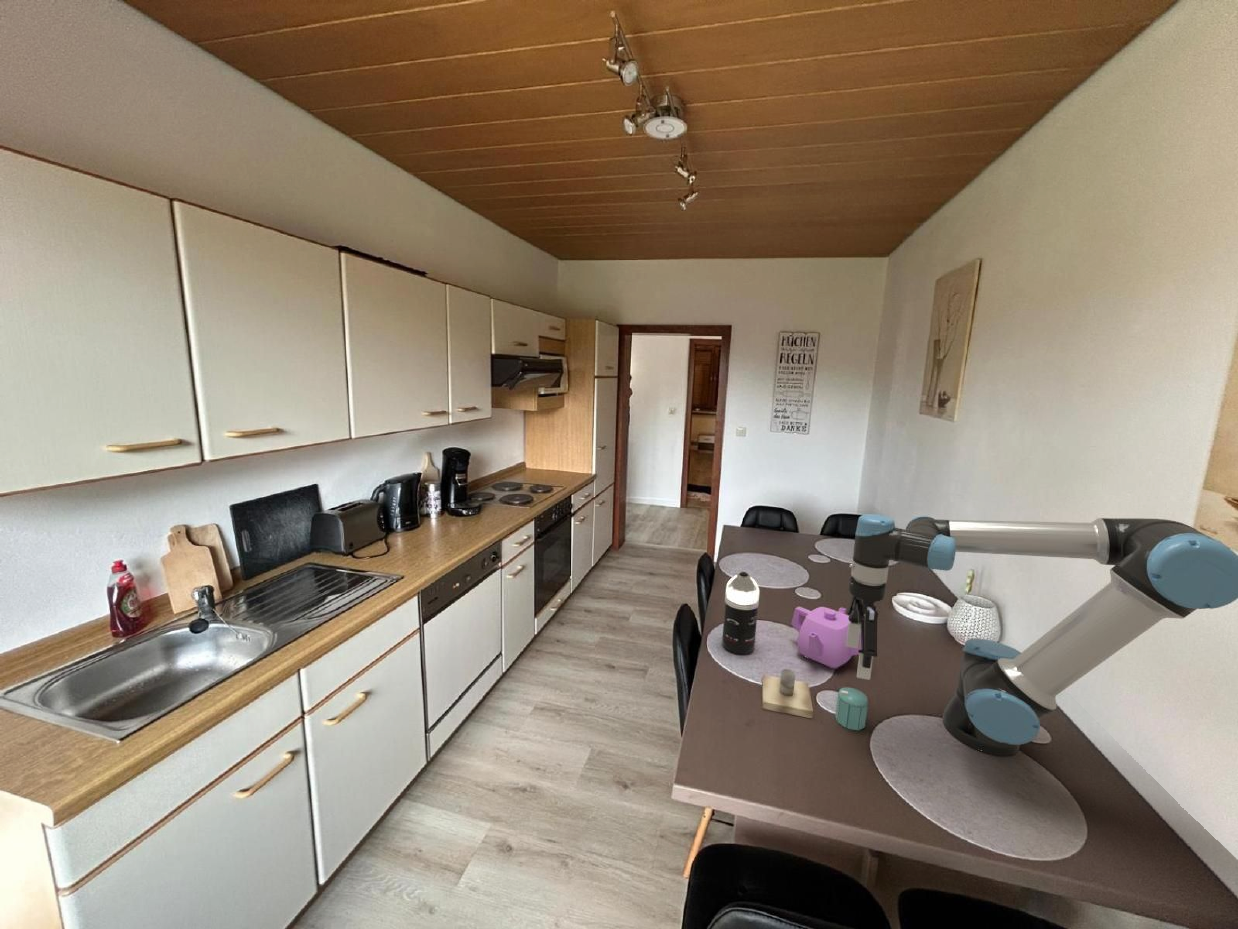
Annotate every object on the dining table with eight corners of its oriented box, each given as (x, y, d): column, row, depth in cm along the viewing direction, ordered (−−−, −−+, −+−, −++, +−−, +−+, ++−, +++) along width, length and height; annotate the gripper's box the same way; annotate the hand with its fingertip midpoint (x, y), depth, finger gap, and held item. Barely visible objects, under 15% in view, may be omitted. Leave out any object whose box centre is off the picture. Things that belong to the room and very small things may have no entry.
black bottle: (760, 647, 153) (767, 572, 149) (744, 660, 146) (751, 582, 141) (731, 634, 160) (737, 563, 156) (715, 646, 153) (720, 571, 148)
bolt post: (807, 689, 133) (810, 664, 132) (812, 718, 122) (815, 691, 120) (761, 681, 136) (764, 656, 135) (762, 708, 125) (765, 682, 123)
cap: (861, 715, 123) (864, 688, 122) (866, 732, 117) (870, 704, 116) (834, 709, 125) (837, 683, 124) (838, 726, 119) (841, 699, 118)
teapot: (840, 640, 159) (845, 597, 156) (871, 674, 141) (877, 626, 138) (782, 640, 158) (787, 597, 155) (806, 674, 140) (811, 626, 137)
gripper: (841, 559, 127) (832, 633, 131) (862, 600, 103) (850, 689, 107) (872, 562, 125) (862, 638, 129) (901, 605, 102) (887, 696, 105)
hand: (857, 661), depth 118 cm, fingers open, 13 cm apart
